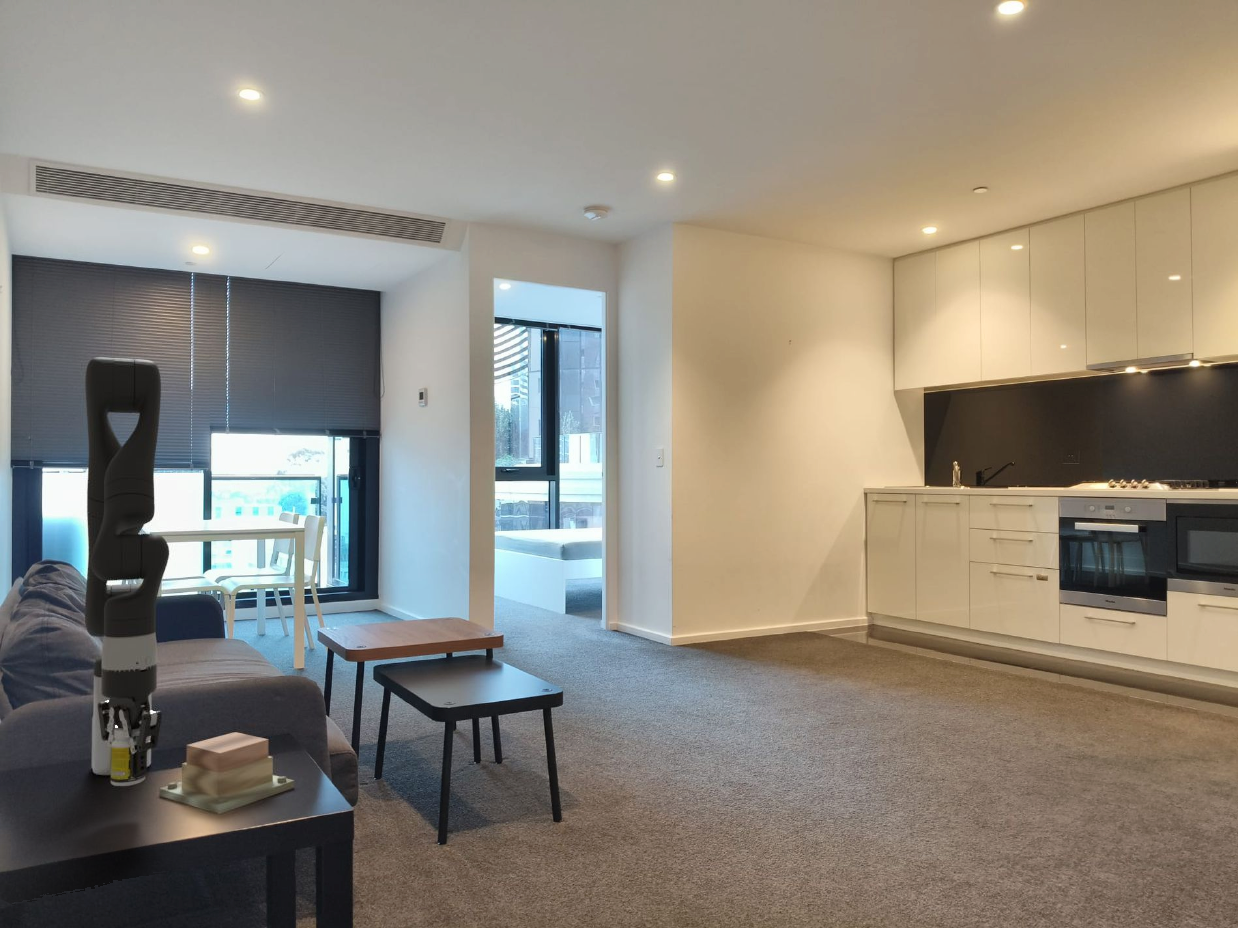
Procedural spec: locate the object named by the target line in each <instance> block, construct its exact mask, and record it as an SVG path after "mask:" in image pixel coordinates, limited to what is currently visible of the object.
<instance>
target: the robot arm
mask: <svg viewBox="0 0 1238 928" xmlns="http://www.w3.org/2000/svg"><path fill="white" fill-rule="evenodd" d="M86 365H87V366H86V371H85V381H84V383H85V384H84V385H85V388H84V389H85V405H86V419H87V435H88V437H87V438H88V466H87V467H88V468H87V486H86V487H87V489H86V490H87V491H86V495H87V496H86V498H87V499H86V501H87V502H86V515H87V519H86V520H87V540H88V541H87V542H88V545H87V546H88V555H87V557H88V558H87V560H88V561H87V573H86V574H87V575H86V585H85V587H86V588H85V590H86V591H85V603H84V604H85V605H84V621H85V628H86V631H87V633H88V635H90V636H91V637H97V638H102V637H103V641H102V646H101V647H102V648H101V656H99V657H98V658H96V659H95V660H94V664H93V715H92V717H91V722H92V723H91V768H92V773H94V774H95V775H100V776H111V745H112V742H113V741H114V740H116V739H115V738H114V730H115V728H123V730H124V736H125V738H126V739H128V740H129V745H130V750H131V753H130V776H131V777H133V778H136V777H140V776H143V775H145V774H146V775H147V771H148V770H147V769H148V767H150V765H151V763H152V750H153V749H155V748H157V746H158V742H159V736H160V729H161V723H162V718H163V713H162V712H161V710H157V711H153V710H152V693H154V692H155V691H156V690H157V687H158V686H157V685H158V684H157V683H158V682H157V681H158V678H157V677H158V675H157V674H158V645H157V644H158V642H157V636H156V620H157V619H156V614H157V613H156V611H157V600H158V595H159V591H160V587H161V583H162V580H163V577H164V573H165V571H166V569H167V566H168V561H169V559H170V558H169V557H170V548H169V545H168V542H167V541H166V539H165V538H164V537H163V536H162V535H160V534H157V533H141V531H142V529H144V526H145V525H146V524H148V523H150V522H151V521H152V520H153V519H154V516H155V512H156V511H155V507H156V506H155V505H156V504H155V479H154V477H155V476H154V473H155V460H156V451H157V444H158V435H159V426H160V425H159V424H160V415H161V413H160V412H161V397H162V381H161V373H160V368H159V366H158V365H157V364H156V362H155V361H152V360H147V359H140V358H137V359H136V358H122V357H121V358H120V357H101V356H100V357H98V356H97V357H93V358H91V359H90V360H89V361H88V364H86ZM109 413H112V414H113V413H114V414H115V413H120V414H139V416H138V419H137V423H136V426H135V428H134V430H133V431H132V433H131V434H130V436H129V437H128V439H127V440H126V441H125V443H123V445H121V443H120V441H119V439H118V438H117V436H116V434H115V432H114V429H113V428H112V425H111V422H110V420H109V416H108V414H109ZM140 533H141V534H140ZM128 580H129V581H131V580H142V583H126V584H125V583H124V584H108V582H109V581H110V582H111V581H128ZM138 728H140V731H137V732H133V731H132V730H134V729H138ZM137 736H139V738H138V744H137V742H136V737H137Z"/></svg>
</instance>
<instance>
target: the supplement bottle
mask: <svg viewBox="0 0 1238 928" xmlns="http://www.w3.org/2000/svg"><path fill="white" fill-rule="evenodd" d="M132 731H133V732H137V731H140V728H138V729H134V730H132ZM114 738H115V739H116V740H114V741H113V742H112V745H111V775H110V784H111V785H112V786H114V787H129V786H133V785H137V784H140V783H141V782H143V781H145V779H146V775H147V773H146V774H145V775H143V776H140V777H136V778H133V777H131V776H130V753H131V750H130V745H129V740H128V739H126V738H125V736H124V730H123V728H115V730H114ZM138 738H139V736H137V737H136V742H137V744H138Z"/></svg>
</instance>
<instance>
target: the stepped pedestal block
mask: <svg viewBox="0 0 1238 928" xmlns="http://www.w3.org/2000/svg"><path fill="white" fill-rule="evenodd" d="M273 762H274V757H273V756H271V755H269V739H268V738H264V737H259V736H254V735H251V734H250V735H249V734H247V733H246V734H245V733H241V732H236V731H235V732H230V733H227V734H223V735H219V736H215V737H212V738H207V739H205V740H204V739H203V740H200V741H196V742H193V743H189V744H186V761H185V762H182V763H181V781H179V782H176V781H175V782H169V783H168V784H167V786H162V787H160V788H159V791H158V792H159V794H158V796H159V797H162V798H165V799H167V800H168V799H169V800H171V801H175V802H178V803H181V804H186V805H189V806H192V807H195V808H197V809H201V810H204V811H205V810H206V811H208V812H211V813H214V814H218V815H221V814H223V813H225V812H228V811H231V810H234V809H237V808H241V807H242V806H246V805H249V804H251V803H252V804H253V803H254V802H257V801H260V800H263V799H265V798H269V797H272V796H274V795H277V794H280V793H283V792H285V791H289V790H291V789H294V788H295V780H294V779H290V778H287V776H278V775H274V774H273V773H274V770H273V769H274V763H273Z"/></svg>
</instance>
